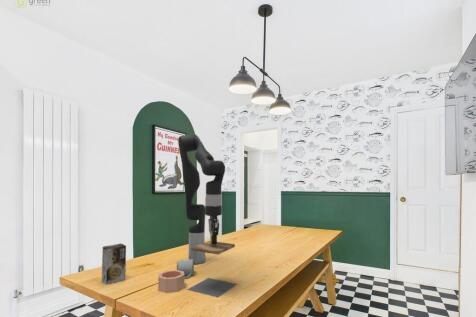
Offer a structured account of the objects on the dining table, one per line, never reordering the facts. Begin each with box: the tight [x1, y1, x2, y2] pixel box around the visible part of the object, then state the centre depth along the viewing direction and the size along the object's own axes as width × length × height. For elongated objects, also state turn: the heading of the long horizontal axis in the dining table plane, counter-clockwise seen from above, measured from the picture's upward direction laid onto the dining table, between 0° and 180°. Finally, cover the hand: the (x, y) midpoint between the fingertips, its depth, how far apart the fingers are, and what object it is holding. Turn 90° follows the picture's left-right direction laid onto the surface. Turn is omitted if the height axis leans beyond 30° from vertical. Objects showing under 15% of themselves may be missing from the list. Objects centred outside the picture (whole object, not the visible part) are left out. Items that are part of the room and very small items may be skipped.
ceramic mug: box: [176, 259, 195, 280], centre depth 133 cm, size 11×8×8 cm
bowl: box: [157, 269, 185, 294], centre depth 119 cm, size 11×11×6 cm
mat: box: [186, 277, 238, 298], centre depth 119 cm, size 16×16×1 cm
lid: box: [191, 232, 236, 256], centre depth 120 cm, size 14×14×7 cm
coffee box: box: [101, 243, 127, 285], centre depth 129 cm, size 9×6×16 cm
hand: (213, 243), depth 120 cm, fingers closed on lid, 2 cm apart
